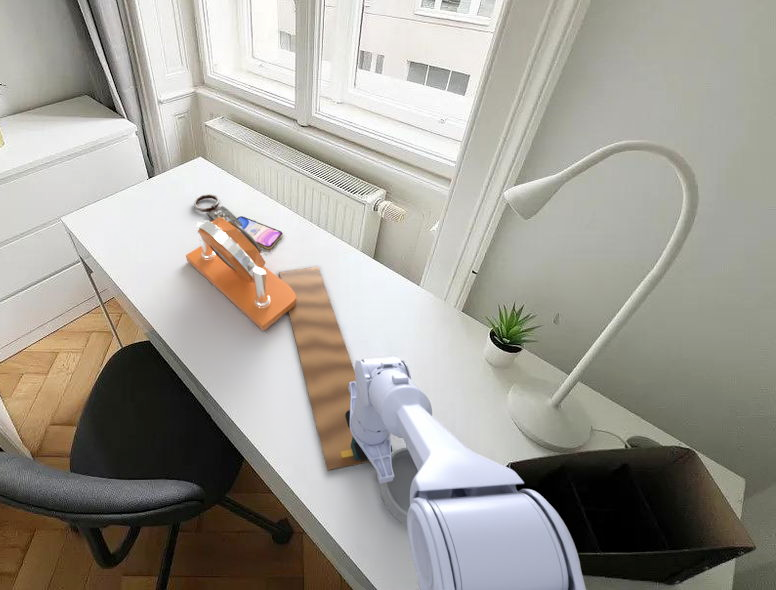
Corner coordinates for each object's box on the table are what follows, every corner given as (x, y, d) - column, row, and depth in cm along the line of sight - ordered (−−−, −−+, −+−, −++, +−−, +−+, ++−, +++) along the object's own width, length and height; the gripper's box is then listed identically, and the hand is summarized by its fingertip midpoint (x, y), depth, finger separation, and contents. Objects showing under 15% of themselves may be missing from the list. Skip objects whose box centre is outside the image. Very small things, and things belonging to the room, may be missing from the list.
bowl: (458, 512, 63) (465, 504, 60) (402, 540, 60) (407, 533, 58) (419, 447, 70) (424, 437, 68) (368, 470, 68) (371, 461, 65)
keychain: (221, 237, 113) (220, 231, 111) (190, 204, 125) (189, 199, 124) (244, 225, 116) (244, 220, 115) (212, 194, 128) (211, 189, 127)
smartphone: (269, 251, 108) (269, 248, 107) (224, 232, 114) (224, 229, 114) (284, 234, 113) (284, 231, 112) (240, 217, 119) (240, 214, 119)
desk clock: (261, 333, 88) (254, 271, 75) (185, 262, 106) (169, 202, 93) (301, 301, 94) (300, 238, 82) (223, 239, 112) (212, 179, 99)
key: (370, 441, 70) (373, 431, 68) (375, 456, 68) (378, 447, 66) (339, 448, 70) (340, 438, 67) (343, 463, 68) (345, 453, 65)
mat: (384, 458, 69) (384, 457, 69) (327, 470, 68) (327, 469, 68) (317, 267, 103) (317, 266, 103) (279, 273, 102) (279, 272, 102)
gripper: (421, 460, 55) (403, 493, 63) (381, 362, 66) (370, 402, 74) (371, 470, 54) (360, 503, 63) (339, 370, 65) (333, 409, 74)
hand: (363, 449), depth 68 cm, fingers closed on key, 2 cm apart
